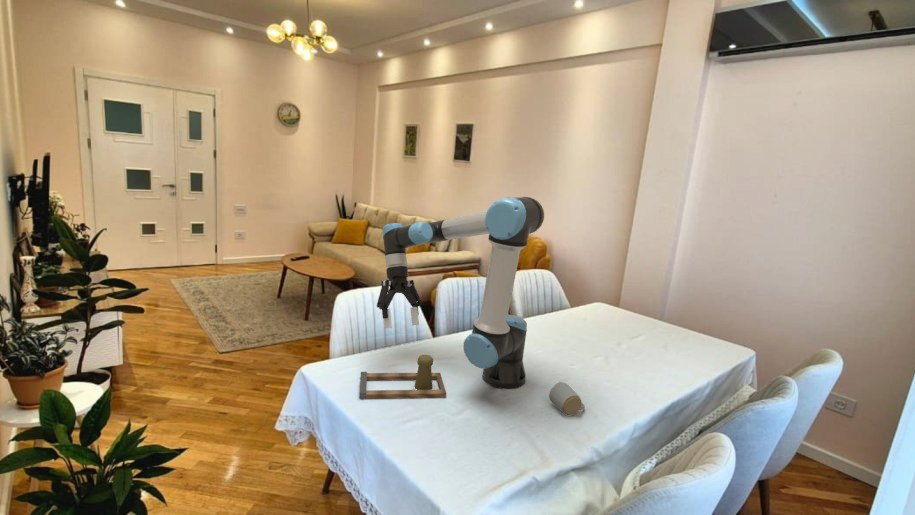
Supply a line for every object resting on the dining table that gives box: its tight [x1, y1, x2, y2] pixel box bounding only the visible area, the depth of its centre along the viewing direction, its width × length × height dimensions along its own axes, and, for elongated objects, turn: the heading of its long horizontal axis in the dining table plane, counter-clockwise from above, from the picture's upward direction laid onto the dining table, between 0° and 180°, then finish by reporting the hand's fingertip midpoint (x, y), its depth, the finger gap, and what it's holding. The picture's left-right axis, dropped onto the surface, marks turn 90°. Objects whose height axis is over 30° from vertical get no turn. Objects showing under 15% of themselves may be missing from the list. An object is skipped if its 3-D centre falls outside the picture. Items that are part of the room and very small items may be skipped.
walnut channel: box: [365, 372, 447, 400], centre depth 148 cm, size 25×14×2 cm, turn 100°
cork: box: [413, 354, 434, 390], centre depth 149 cm, size 6×6×11 cm
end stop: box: [358, 371, 368, 400], centre depth 146 cm, size 2×14×2 cm, turn 10°
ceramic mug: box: [548, 382, 586, 416], centre depth 143 cm, size 11×8×8 cm
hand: (402, 326), depth 159 cm, fingers open, 13 cm apart
